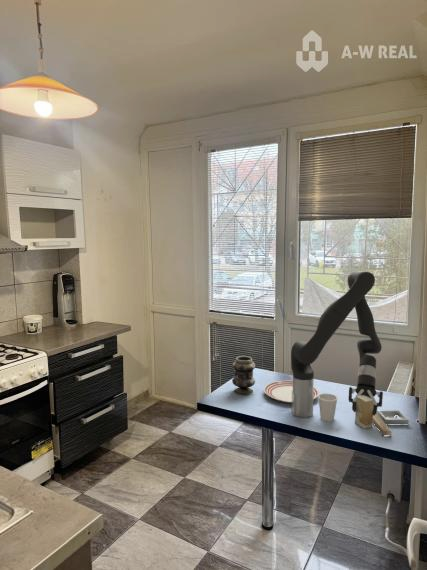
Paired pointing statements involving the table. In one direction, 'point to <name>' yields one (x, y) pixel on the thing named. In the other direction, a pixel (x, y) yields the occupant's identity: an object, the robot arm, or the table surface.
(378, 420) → the sill
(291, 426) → the table surface
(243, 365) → the dark carved vase
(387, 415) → the tray
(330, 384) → the table surface
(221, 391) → the table surface
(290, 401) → the dinner plate
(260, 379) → the table surface
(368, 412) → the skincare box
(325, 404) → the dixie cup
